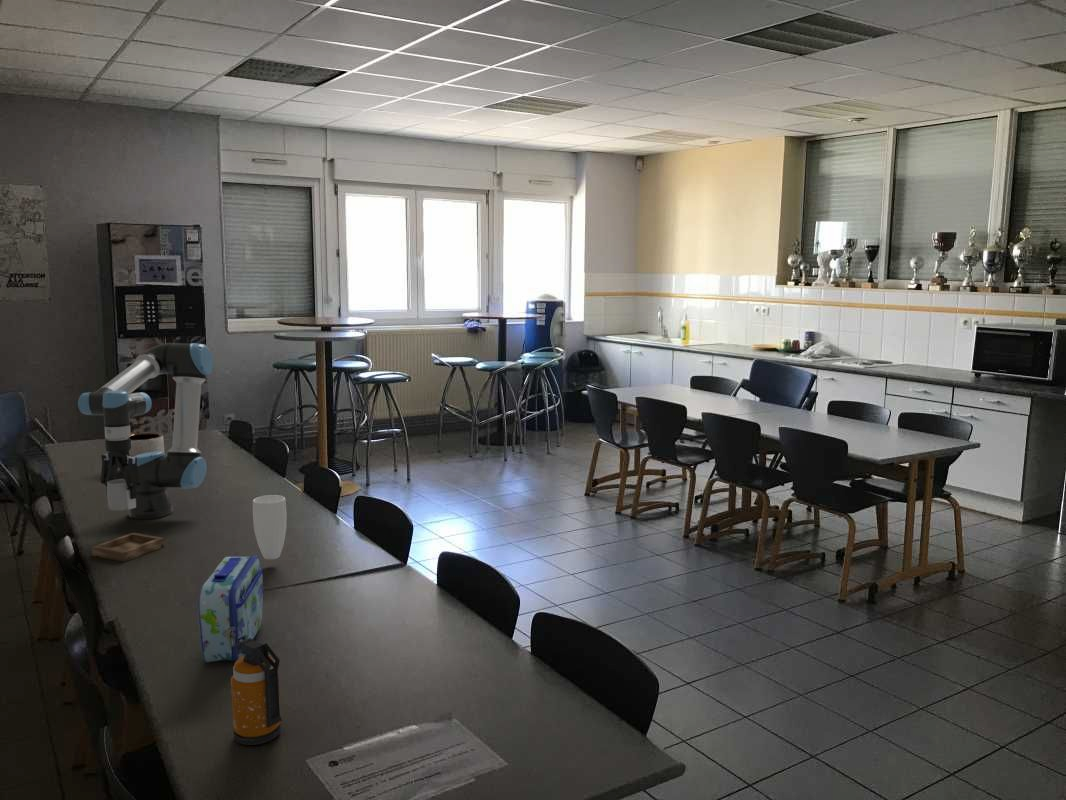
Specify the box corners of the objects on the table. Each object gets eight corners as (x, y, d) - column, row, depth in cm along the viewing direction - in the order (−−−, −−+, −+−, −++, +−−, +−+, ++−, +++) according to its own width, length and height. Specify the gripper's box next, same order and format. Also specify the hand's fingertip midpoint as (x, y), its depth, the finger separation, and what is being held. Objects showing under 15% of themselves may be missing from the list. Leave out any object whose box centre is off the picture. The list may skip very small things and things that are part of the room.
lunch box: (244, 669, 198) (239, 584, 194) (196, 671, 197) (191, 585, 193) (269, 622, 223) (265, 546, 220) (227, 624, 222) (222, 547, 219)
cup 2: (296, 562, 268) (293, 496, 264) (276, 573, 258) (272, 505, 255) (268, 558, 271) (265, 493, 268) (247, 569, 262) (244, 501, 258)
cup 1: (108, 511, 272) (106, 484, 271) (109, 504, 281) (107, 478, 280) (133, 509, 275) (131, 482, 274) (133, 502, 284) (131, 476, 283)
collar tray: (133, 541, 288) (132, 532, 287) (164, 546, 282) (163, 537, 282) (92, 555, 273) (91, 546, 273) (124, 562, 268) (123, 552, 267)
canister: (262, 718, 176) (257, 628, 173) (297, 735, 170) (293, 641, 167) (224, 738, 169) (219, 643, 166) (260, 756, 163) (255, 659, 160)
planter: (155, 475, 377) (152, 440, 374) (115, 474, 377) (112, 440, 375) (172, 465, 394) (170, 432, 392) (134, 465, 395) (132, 432, 392)
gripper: (85, 437, 276) (89, 505, 279) (131, 443, 267) (135, 513, 270) (105, 434, 283) (109, 500, 286) (150, 439, 274) (154, 507, 277)
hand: (122, 506), depth 278 cm, fingers closed on cup 1, 8 cm apart
